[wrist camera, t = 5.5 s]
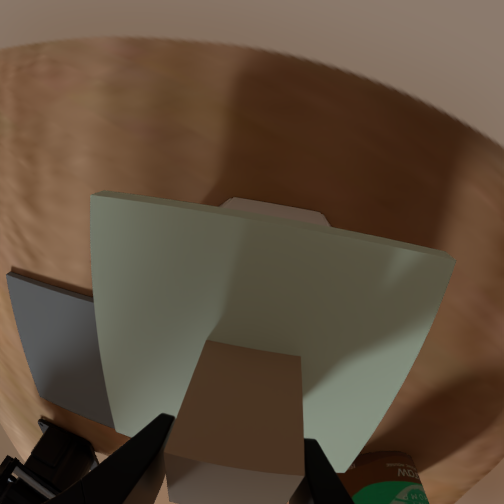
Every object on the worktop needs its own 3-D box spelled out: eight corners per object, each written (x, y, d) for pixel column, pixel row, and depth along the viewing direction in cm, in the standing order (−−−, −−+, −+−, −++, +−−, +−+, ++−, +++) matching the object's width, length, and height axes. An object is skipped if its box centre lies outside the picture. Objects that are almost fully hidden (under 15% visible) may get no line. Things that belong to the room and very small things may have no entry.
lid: (343, 460, 12) (351, 549, 8) (122, 420, 13) (80, 501, 8) (445, 251, 9) (544, 340, 4) (103, 190, 9) (-22, 239, 4)
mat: (166, 440, 21) (164, 444, 20) (42, 393, 21) (40, 396, 21) (162, 315, 16) (159, 320, 16) (10, 271, 17) (5, 274, 16)
